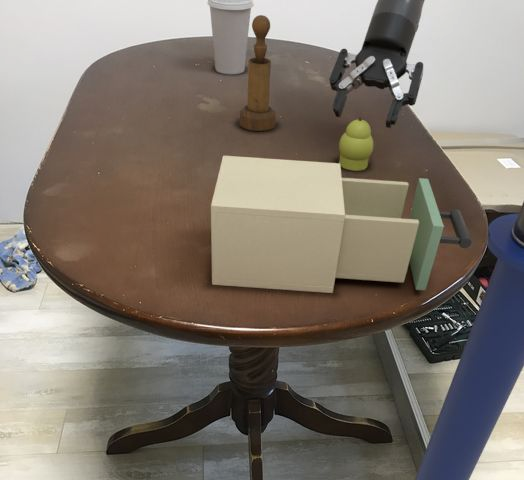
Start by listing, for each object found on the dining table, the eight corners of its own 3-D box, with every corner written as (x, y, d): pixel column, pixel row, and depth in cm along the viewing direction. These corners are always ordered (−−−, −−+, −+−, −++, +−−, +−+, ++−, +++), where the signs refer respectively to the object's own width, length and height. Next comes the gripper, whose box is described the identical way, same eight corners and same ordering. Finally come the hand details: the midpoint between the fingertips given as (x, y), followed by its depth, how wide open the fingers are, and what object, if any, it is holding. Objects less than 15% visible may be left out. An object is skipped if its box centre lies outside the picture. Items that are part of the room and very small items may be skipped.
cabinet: (329, 237, 81) (340, 163, 74) (332, 293, 72) (345, 214, 65) (223, 230, 82) (223, 155, 74) (212, 284, 72) (210, 205, 65)
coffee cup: (212, 77, 127) (211, -2, 117) (205, 63, 134) (203, -13, 124) (255, 76, 129) (258, -2, 119) (246, 62, 136) (248, -13, 126)
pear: (368, 158, 101) (376, 111, 95) (371, 173, 97) (380, 124, 91) (335, 156, 101) (342, 108, 95) (337, 170, 97) (343, 122, 91)
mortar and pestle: (265, 116, 112) (271, 10, 100) (281, 129, 108) (288, 19, 96) (233, 120, 110) (235, 12, 98) (248, 133, 106) (251, 22, 94)
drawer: (445, 241, 80) (464, 181, 74) (462, 293, 72) (484, 229, 66) (313, 232, 80) (320, 171, 74) (313, 282, 72) (322, 217, 66)
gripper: (349, 3, 94) (317, 100, 93) (438, 17, 90) (405, 118, 90) (353, 32, 101) (324, 122, 101) (436, 46, 97) (405, 139, 97)
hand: (362, 120), depth 95 cm, fingers open, 8 cm apart
